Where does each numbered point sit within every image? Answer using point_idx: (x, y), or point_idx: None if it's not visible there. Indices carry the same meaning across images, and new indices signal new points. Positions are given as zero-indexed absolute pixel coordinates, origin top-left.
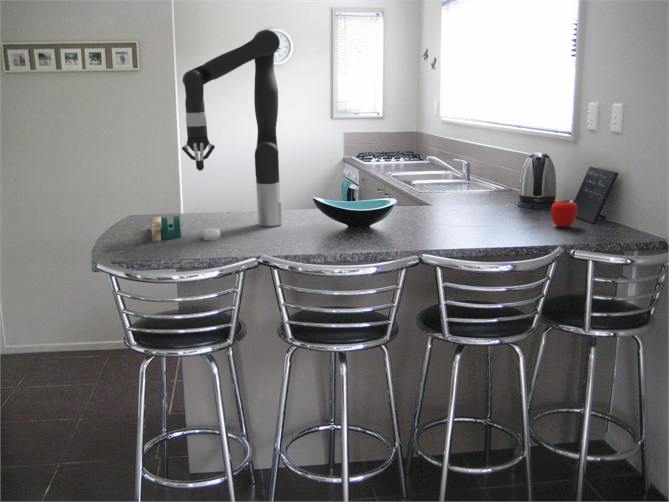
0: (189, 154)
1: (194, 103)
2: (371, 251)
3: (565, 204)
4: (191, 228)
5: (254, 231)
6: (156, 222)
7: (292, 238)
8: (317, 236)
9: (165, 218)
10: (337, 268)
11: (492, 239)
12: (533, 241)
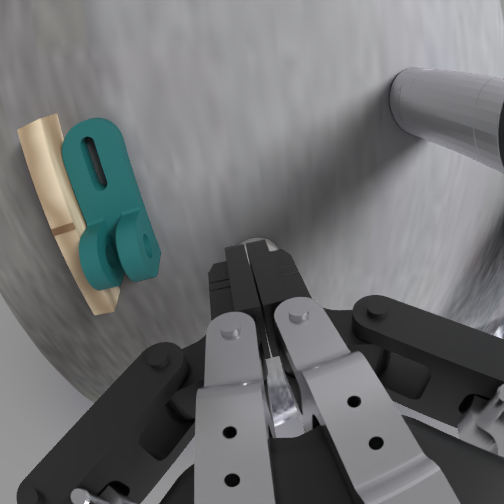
0: (159, 455)
1: None
2: (474, 326)
3: None
4: (161, 118)
5: (373, 185)
6: (58, 219)
7: (429, 263)
8: (466, 248)
9: (105, 283)
10: None
11: None
12: None
